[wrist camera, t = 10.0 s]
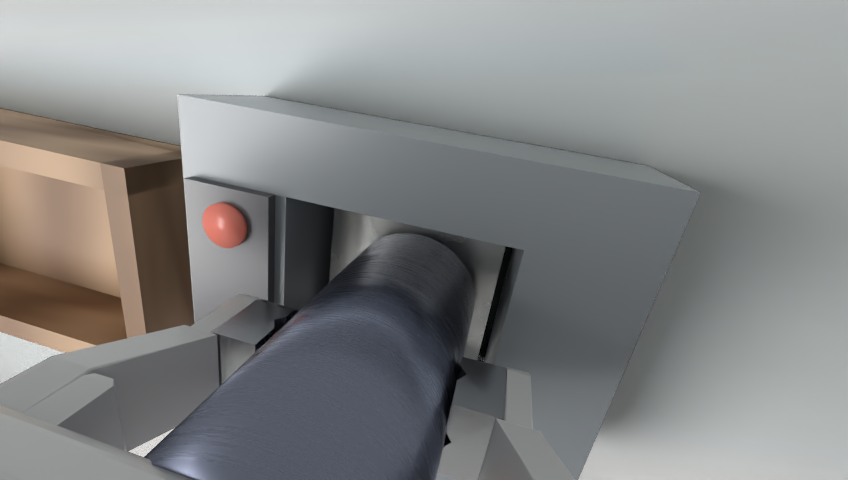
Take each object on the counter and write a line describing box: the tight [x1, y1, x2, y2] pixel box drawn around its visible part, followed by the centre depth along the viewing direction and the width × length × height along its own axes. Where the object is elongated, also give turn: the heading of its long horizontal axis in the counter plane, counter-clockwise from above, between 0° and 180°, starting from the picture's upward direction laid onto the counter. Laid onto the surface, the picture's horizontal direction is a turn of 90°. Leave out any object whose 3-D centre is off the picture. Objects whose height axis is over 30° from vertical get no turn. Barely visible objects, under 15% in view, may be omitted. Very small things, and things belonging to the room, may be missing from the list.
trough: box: [0, 108, 195, 353], centre depth 15 cm, size 12×8×3 cm, turn 81°
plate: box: [329, 208, 506, 360], centre depth 13 cm, size 5×5×1 cm
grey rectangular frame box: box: [177, 94, 701, 480], centre depth 12 cm, size 12×10×4 cm
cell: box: [144, 233, 475, 480], centre depth 8 cm, size 4×4×9 cm
